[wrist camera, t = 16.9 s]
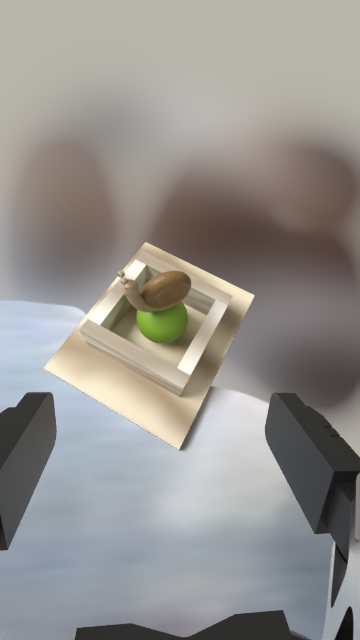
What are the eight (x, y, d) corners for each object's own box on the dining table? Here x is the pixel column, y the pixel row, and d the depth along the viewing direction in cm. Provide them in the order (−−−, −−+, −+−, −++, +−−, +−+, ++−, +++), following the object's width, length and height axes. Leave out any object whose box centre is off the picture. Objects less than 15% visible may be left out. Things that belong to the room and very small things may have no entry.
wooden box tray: (178, 449, 27) (183, 448, 23) (46, 370, 30) (28, 355, 25) (252, 299, 36) (266, 277, 31) (145, 247, 38) (144, 219, 34)
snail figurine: (123, 318, 32) (107, 248, 21) (174, 302, 33) (184, 229, 23) (138, 361, 30) (130, 307, 19) (192, 341, 31) (213, 281, 21)
